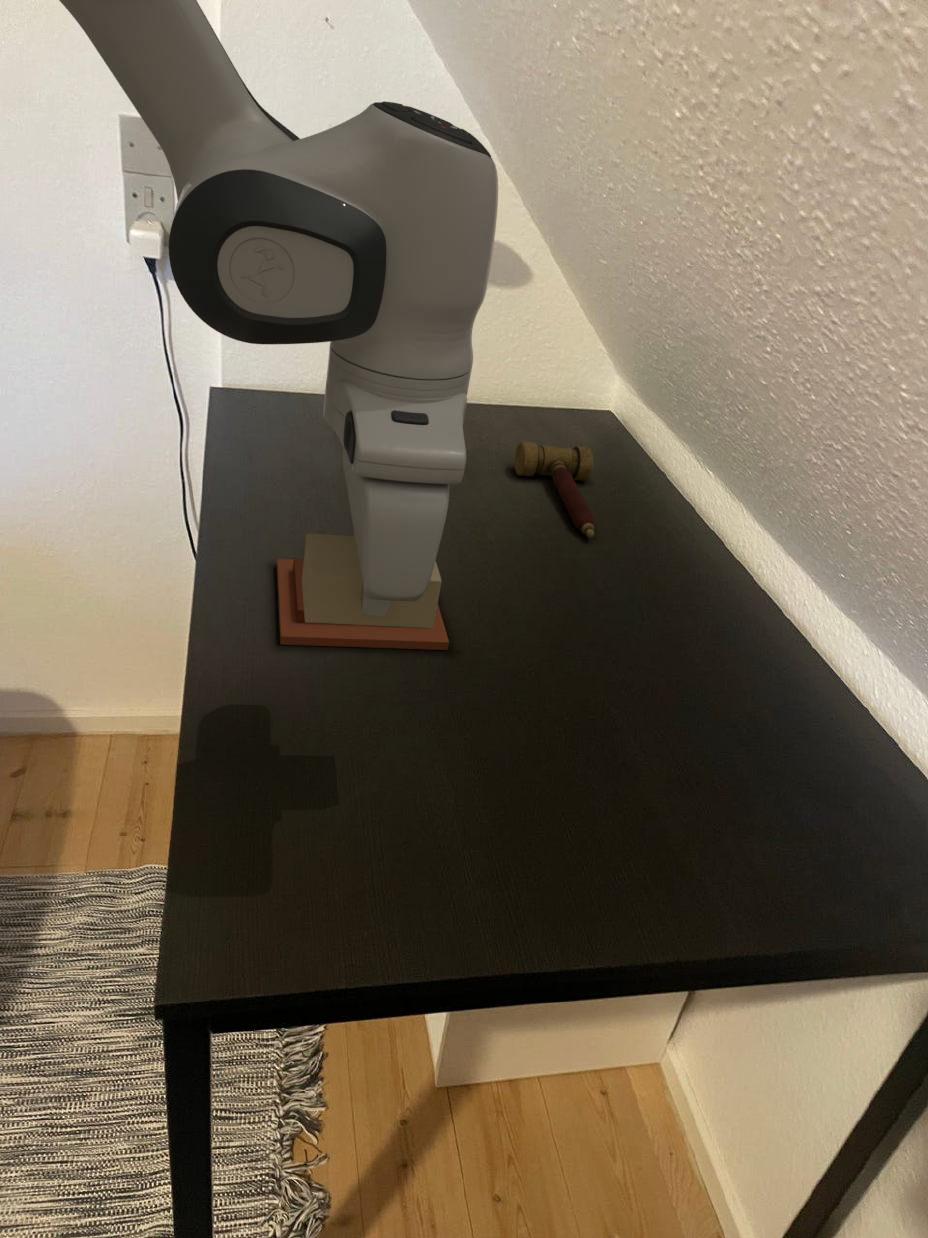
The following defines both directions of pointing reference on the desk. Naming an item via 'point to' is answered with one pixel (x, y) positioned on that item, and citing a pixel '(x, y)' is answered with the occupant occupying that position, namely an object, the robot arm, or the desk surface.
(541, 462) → the gavel
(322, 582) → the top pad
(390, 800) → the desk surface
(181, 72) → the robot arm
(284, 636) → the base pad
